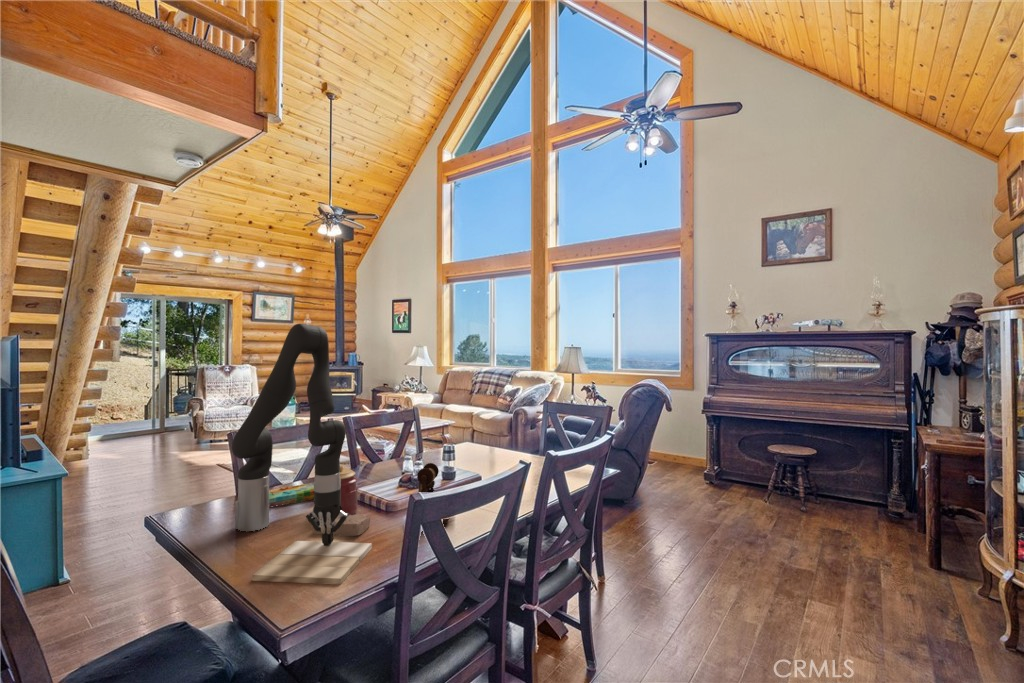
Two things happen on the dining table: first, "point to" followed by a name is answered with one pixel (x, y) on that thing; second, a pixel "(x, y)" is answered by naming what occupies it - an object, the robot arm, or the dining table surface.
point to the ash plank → (328, 549)
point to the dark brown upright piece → (428, 479)
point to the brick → (351, 525)
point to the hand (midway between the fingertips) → (327, 544)
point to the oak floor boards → (307, 569)
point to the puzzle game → (291, 494)
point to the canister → (348, 491)
